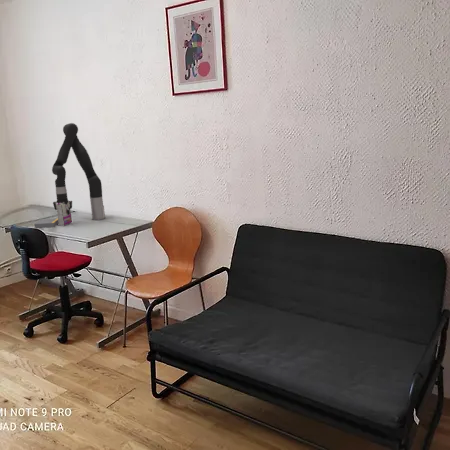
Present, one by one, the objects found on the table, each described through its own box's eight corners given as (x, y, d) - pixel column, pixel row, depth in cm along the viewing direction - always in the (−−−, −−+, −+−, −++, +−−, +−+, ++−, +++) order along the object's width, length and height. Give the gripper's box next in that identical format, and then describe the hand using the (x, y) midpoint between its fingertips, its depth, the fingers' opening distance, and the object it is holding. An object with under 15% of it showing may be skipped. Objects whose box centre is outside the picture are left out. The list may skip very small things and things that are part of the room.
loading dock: (60, 222, 355) (59, 217, 354) (54, 227, 340) (53, 222, 339) (41, 223, 354) (41, 218, 354) (34, 228, 339) (34, 223, 338)
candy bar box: (66, 222, 354) (63, 201, 350) (72, 222, 353) (69, 201, 349) (58, 225, 343) (55, 204, 339) (64, 225, 342) (61, 204, 338)
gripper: (72, 191, 346) (75, 213, 350) (53, 192, 345) (55, 214, 349) (70, 193, 339) (72, 215, 343) (50, 194, 338) (52, 216, 342)
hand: (64, 214), depth 346 cm, fingers closed on candy bar box, 5 cm apart
